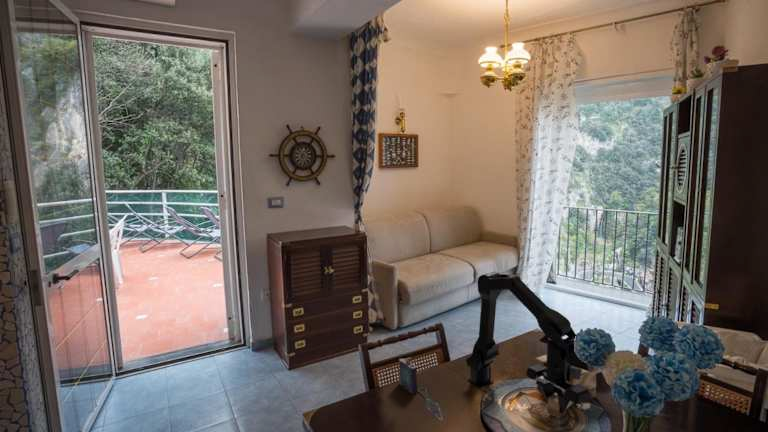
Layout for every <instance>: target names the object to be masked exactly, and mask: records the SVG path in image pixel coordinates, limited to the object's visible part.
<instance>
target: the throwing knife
mask: <svg viewBox="0 0 768 432" xmlns="http://www.w3.org/2000/svg"><path fill="white" fill-rule="evenodd" d="M417 390H418V393H417V394H420V395H421V396H422V397H423V399H424V400H425V404H424V406H425V407H426V408H427V409H428V411H429V412H431V413H432V414H433V415H434V416H435V417H436V418H437V419H439V420H440V421H441V422H444V417H443V414H442V410H441V408H440V405H439V403H438V402H437V401H434V399H432V398H431V396H430V394H429V392H428V391H429V390H428V388H426V387H420V388H419V387H418V388H417ZM423 390H424V391H423Z"/></svg>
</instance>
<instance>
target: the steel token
mask: <svg viewBox="0 0 768 432" xmlns="http://www.w3.org/2000/svg"><path fill="white" fill-rule="evenodd" d="M575 406H577V407H579V408H581V409H589V408H590V409H591V403H590V402H589V401H588V400H586V401H584V402H582V403H579V404H576V403H575ZM577 407H576V408H577ZM581 409H580V410H581ZM590 409H589V410H590Z"/></svg>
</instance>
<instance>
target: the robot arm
mask: <svg viewBox="0 0 768 432" xmlns="http://www.w3.org/2000/svg"><path fill="white" fill-rule="evenodd" d="M502 290H508V291H509V292H510V293H511V294H512V295H513V296H514V297H515V298H516V299H517V300H518V301H519V302H520V303H521V304H522V305H523V306H524V307H525V308H526V309H527V310H528V311H529V313H531V314H532V316H534V318H535V319H536V321H537V324H538V327H539V328H540V330H541V331H542V332H543V334H544V335H543V336H542V337H541V338H540V339H539V342H541V343H544V344H546V355H547V358H546V361H544V362H543V365H544V366H546V367H544V366H542V365H540V364H537V363H536V364H534V365H531V366H528V367H527V369H526V377H527V378H530V379H531V380H535V379H537V377H538V381H537V380H536V381H535V384H536V386H537V385H538V386H539V387H538V388H539V390H540V391H541V393H542V395H543V396H544V399H545V401H546V403H547V404H548V397H550V396H551V395H553V394H554V389H555V386H557V387H559V388H561V389H562V390H561V389H560V390H561V392H559V393H557V397H558V403H559V409H560V412H561V414H563V413H564V412H565V410H566V411H567V409H568V408H567V406H568V403H569V401H572V402H574V404H575V405H576V404H579V403H582V402H584V401H588V400H592V399H591V392H590V390H589V389H588V388H586V387H584V386H582V385H580V384H575V385H572V384H568V383H567V381H569V382H570V381H572V379H577V380H580V376H581V372H582V369H583V370H586V371H589V372H592V371H593V370H594V369H595V367H592V366H589V365H587V364H586V363H584V362H582V361H581V360H579V358H578V357H577V355H576V354H575V352H574V339H575V336H577V334H576V333H575V331H574V330H573V328H572V323H571V321H570V320H569V319H568V318H567V317H566V316H564V315H563V314H562V313H560V312H559V311H557V310H554V309H553V308H550V307H549V306H547V305H546V304H545V302H544V301H542V299H541V298H540V297H539V296H538V295H537V294H535V292H534V291H532V289H531V288H529V287H528V285H526V284H525V283H524V282H523V281H522V279H521V277H520V276H518V275H516V274H513V275H512V274H505V273H503V274H502V273H499V272H497V271H492V272H488V273H485V274H481V275H480V276H479V277H478V278H477V291H478V293H479V296H480V299H481V303H480V316H479V319H480V320H479V328H478V329H479V330H478V338H477V339H476V341H475V343H474V345H473V349H472V352H471V353H472V354H471V355H470V356H469V357H468V358H466V359H465V362H466V365H467V367H469V368H470V369H469V370H470V377H467V380H468V381H469V382H471V383H472V384H474V385H475V386H477V387H479V388H480V387H481V388H482V387H483V386H484V387H485V386H487V385H491V384H493V383H494V380H493V379H492V367H491V364H493V363H494V360H495V359H497V357H498V356H499V355H500V354H499V348H500V344H499V343H496V341H495V339H494V332H495V322H496V310H497V309H496V308H497V299H498V297H499V296H500V294H501V292H502ZM565 336H567V337H566V338H564V339H563V337H565ZM554 385H555V386H554ZM557 387H556V388H557ZM559 388H558V389H559ZM566 408H567V409H566Z"/></svg>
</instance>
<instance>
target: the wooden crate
mask: <svg viewBox="0 0 768 432" xmlns="http://www.w3.org/2000/svg"><path fill="white" fill-rule="evenodd" d="M546 358H547V354H544V355H541V356H538V357H535V358H534V361H535V362H536V365H537V364H540V365H542V366H544V365H543V362H544V361H546ZM544 367H546V366H544ZM596 370H598V368H596V367H595V369H594V370H593V371H592V372H589V371H586V370H583V369H582V372H581V376H580V380H577V379H572V381H570V382H569V381H567V383H568V384H572V385H575V384H580V385H582V386H584V387H586V388H588V389H589V390H590V392H591V399H590V400H592V399H594V398H596V397H597V374H596ZM536 381H538V377H537V376H536ZM554 388H557V389H559V390H561V391H562V389H561V388H559V387H557V386H555V385H554Z"/></svg>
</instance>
